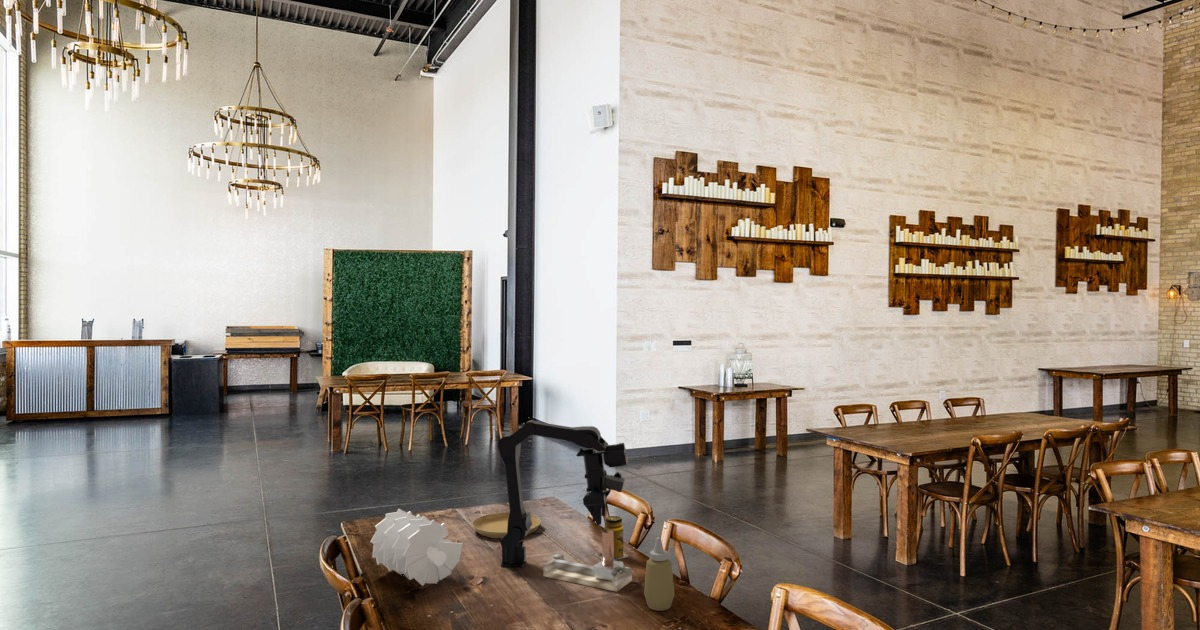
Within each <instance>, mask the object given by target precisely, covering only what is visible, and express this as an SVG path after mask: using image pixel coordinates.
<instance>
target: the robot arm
mask: <svg viewBox="0 0 1200 630" xmlns="http://www.w3.org/2000/svg"><path fill="white" fill-rule="evenodd" d="M530 436H537V437H542V438H543V437H544V438H550V439H556V440H561V441H568V442H570V443H573V444H574V445H577V446H579V447H580V448H579V451H578V452H577V453H576V457H582V458H583V464H584V471H585V473H584V479H586V486H587V487H586V493H585V494H584V496H583V498H582V502H583V503H582V504H583V506H584V507H585V508H586V509H587V512H589V514H590V515H591V517H592V518H593V520H594V522H595V524H596V525H598V526H601V525H602V517H605V516H606V510H607V509H606V507H607V497H608V496H609V495H610V494H611V491H615V492H618V493H622V492H623V489H624V486H625V485H624V484H625V480H626V479H625V478H624V477H623V475H622V473H621V472H619V471H616V472H615V473H614V474H611V475H609V474H607V473H608V472H607V470H606V469H605V467H604V465H606V467H607V466H608V468H615V467H626V466H628V465H629V457H628V452H627V449H626V445H625V443H624V442H619V443H616V444H615V443H614V444H609V443H608V442H607V441H606V440H605V438H603V436H601V432H600V430H599V429H598V428H597V427H596V426H592V425H589V426H587V425H586V426H565V425H559V424H553V423H548V422H541V421H537V420H535V419H531V420H528V421H527V422H526V423H524V425H523V426H521V427H520V428H519V429H517V430H516V431H514V432H508V433H507V434H506V435H504V436H502V437H500V439H499V440H498V442H497V450H498V453H499V457H500V459H501V460H502V463H503V465H504V472H505V473H504V474H505V480H506V488H507V490H506V491H507V499H508V505H509V506H508V507H509V509H508V510H509V512H510V513H509V518H508V527H507V533H506V534H505V535H504V536H503V538H502V539H500V540H499V542H500V545H501V560H502V561H501V563H500V566H501V567H522V566H523V565H524V563H525V562H526V558H527V557H526V556H527V555H526V546H525V541H524V538H525V537H526V536H528V535H527V533H528V532H529V530H530V527H531V525H532V522H531V514H532V513H531V511H528V512H527V511H526V509H525V507H524V498H523V497H524V496H523V490H522V481H521V480H522V479H521V473H520V471H521V470H520V456H521V449H522V442H523V441H525V440H527V438H529V437H530ZM628 467H629V466H628Z"/></svg>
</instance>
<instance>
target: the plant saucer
mask: <svg viewBox="0 0 1200 630" xmlns="http://www.w3.org/2000/svg"><path fill="white" fill-rule="evenodd" d="M509 513H510V511H504V512H496V513H489V514H488V513H487V514H485V515H481V516H479V517H477V518H475V519H474V520H473V521H472V523H471V525H472V527H473V529H474V530H475V532H477V533H478V534H480V535H481V536H483V537H486V538H489V537H490V539H496V538H500V540H501V539H502V538H503V536H504V535H505V534H506V533H507V527H508V518H509ZM531 522H532V525H531V527H530V530H529V532H528V533H527V535H526V536H529V535H531V534H532V533H534V532H535V531H537V530H538V528H539V527H540V525H541V524H542V520H541V518H540V517H539V516H537V515H534V514H532V513H531Z"/></svg>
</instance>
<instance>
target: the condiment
mask: <svg viewBox="0 0 1200 630" xmlns="http://www.w3.org/2000/svg"><path fill="white" fill-rule="evenodd" d="M604 524H605V526H604V528H603V531H605V530H611V531H613V541H614V560H615V561H617V560H620V559H624V558H629V555H628V554H625V553H624V526H623V519H622V517H621V516H617V515H611V516H610V515H609V516H606V517H605V523H604ZM593 556H595V557H596V558H598V559H600V560H602V557H601V556H602V552H599V553H595V554H594V555H593Z"/></svg>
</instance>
